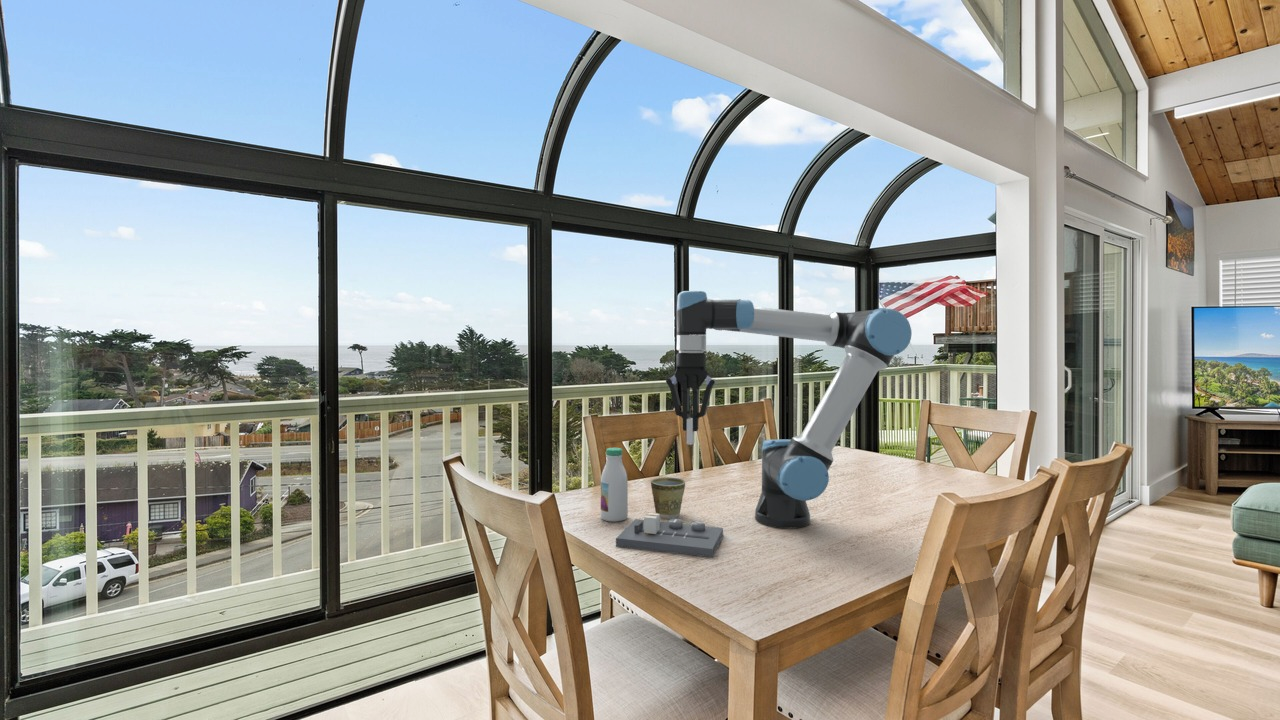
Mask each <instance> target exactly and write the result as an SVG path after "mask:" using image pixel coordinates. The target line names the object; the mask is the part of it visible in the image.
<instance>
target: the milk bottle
mask: <svg viewBox="0 0 1280 720" xmlns="http://www.w3.org/2000/svg"><path fill="white" fill-rule="evenodd" d="M605 453H606V462H605V465H604V467H603V469H602V472H601V476H600V477H601V478H600V519H602V520H603V521H605V522H617V523H618V522H622V521H623V522H624V521H625V520H627V518H628V511H629V510H628V504H629V503H628V502H629V501H628V500H629V498H628V497H629V496H628V494H629V492H628V490H629V488H628V487H629V485H628V483H629V482H628V474H627V470H626V469H625V466H624V464H623V460H622V457H623V448H622V447H608V448H606V450H605Z"/></svg>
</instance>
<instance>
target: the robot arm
mask: <svg viewBox="0 0 1280 720" xmlns="http://www.w3.org/2000/svg"><path fill="white" fill-rule="evenodd" d="M676 299H677V303H676V350H677V351H678V352H677V354H676V369H675V371H674V375H671V377H669V378H667V379H666V380H665V382H666V384H667V386H668V387H669V390H670V395H671V400H672V403H673V407H674V413H675V415H676V416H679V417H681V418H682V430H683V431H684V432H686V445H689V446H690V445H694V444H695V432H698V431H699V424H700V423H699V421H700V420H699V419H700V418H703V417H704V416H705V415H707V409H708V406H709V403H710V398H711V396H712V395H711V394H712V390H713V388H714V386H715V385H716V383H717V380H716V379H714V378H712V377H711V376H709V374H708V371H707V354H706V353H705V351H706V350H707V330H709V329H711V330H714V331H726V332H727V331H728V332H729V331H730V332H739V333H748V334H753V335H754V334H755V335H756V334H757V335H766V336H772V337H779V338H780V337H781V338H790V339H791V338H792V339H800V340H807V341H808V340H809V341H816V342H825V344H826V345H827V346H828V347H834V348H835V347H836V348H841V349H844V350H845V354H846V355H845V358H844V359H843V361H842V362H841V364H840V366H839V368H838V369H837V371H836V374H835V375H834V376H833V378H832V380H831V382H830V384H829V385H828V387H827V389H826V390H825V392H824V394H823V396H822V397H821V399H820V401H819V403H818V404H817V406H816V408H815V410H814V412H813V413H812V415H811V417H810V419H809V420H808V422H807V423H806V425H805V427H804V429H803V430H802V432H801V434H799V435H795V436H793V437H792V438H791V439H789V438H788V439H782V438H780V439H765V440H764V441H763V443H762V447H761V448H762V449H761V491H760V492H761V493H760V496H759V499H758V501H757V504H756V507H755V511H754V512H755V513H754V518H755V521H757V522H758V523H760V524H762V525H764V526H765V525H766V526H769V527H772V528H773V527H774V528H780V529H781V528H782V529H799V528H803V527H804V528H805V527H807V526H808V525H809V524H811V514H810V510H809V507H808V504H807V503H808V502H807V501H811V500H815V499H816V498H817V499H818V498H819V497H820V496H821V495H822V494H824V492H825V491H826V489H827V488H828V485H829V481H830V479H829V477H830V476H829V470H830V467H831V466H832V464H833V462H834V457H833V454H832V452H833V449H834V448H835V446H836V444H837V442H838V441H839V439H840V437H841V435H842V434H843V433H844V431H845V428H846V427H847V426H848V423H849V421H850V420H851V418H852V416H853V415H854V413H855V411H856V410H857V408H858V406H859V404H860V402H861V401H862V400H863V397H864V396H865V394H866V392H867V390H868V388H869V387H870V385H871V383H872V382H873V380H874V378H875V377H876V375H877V373H878V372H879V371H882V370H885V369H887V368H888V366H889V365H890V363H891V361H892V360H893V358H894V356H896V355H899V354H900V353H902V352H903V351H905V350H906V349H907V348H908V347H909V345H910V343H911V340H912V327H911V324H910V322H909V320H908V318H907V317H906V316H905V315H904V314H903V313H901V312H900V311H898V310H896V309H892V308H885V307H880V308H876V309H872V310H861V311H860V310H859V311H853V312H836V311H832V312H831V313H829V314H822V313H815V312H805V311H797V310H790V309H789V310H788V309H787V310H786V309H779V308H771V307H763V306H762V307H761V306H754V303H753V302H752V300H749V299H740V298H739V299H711V298H710V299H709V298H708V295H707V293H706V291H703V290H684V291H680V292H679V293H678V294H677V298H676ZM677 381H678V382H677ZM704 382H705V385H706V387H705V390H704V393H703V398H702V402H701V405H700V387H702V385H703V384H704ZM677 383H679V384H680V386H681V390H682V405H681V401H680V396H679V392H678V388H677ZM690 390H691V392H692V413H691V414H692V416H691V417H690Z"/></svg>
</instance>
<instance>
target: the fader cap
mask: <svg viewBox="0 0 1280 720" xmlns="http://www.w3.org/2000/svg"><path fill="white" fill-rule="evenodd" d="M643 520H644V533H650V534H656V533H657V532H658V531H659V529H660V522H661V518H660V514H657V513H656V512H655V513H654V512H653V513H652V512H648V513H646V514H645V516H644V517H643Z"/></svg>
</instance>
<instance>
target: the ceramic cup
mask: <svg viewBox="0 0 1280 720" xmlns="http://www.w3.org/2000/svg"><path fill="white" fill-rule="evenodd" d="M650 485H651V487H650V488H651V492H652V493H651V494H652V497H653V504H654V511H655V513H657V514H660V519H668V520H670V519H678V517H679V516H680V514H681V509H682V504H683V496H684V493H685V487H686V481H685V479H682V478H677V477H671V476H670V477H669V476H667V477H666V476H664V477H662V476H661V477H655V478H653V479H651V481H650Z"/></svg>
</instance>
